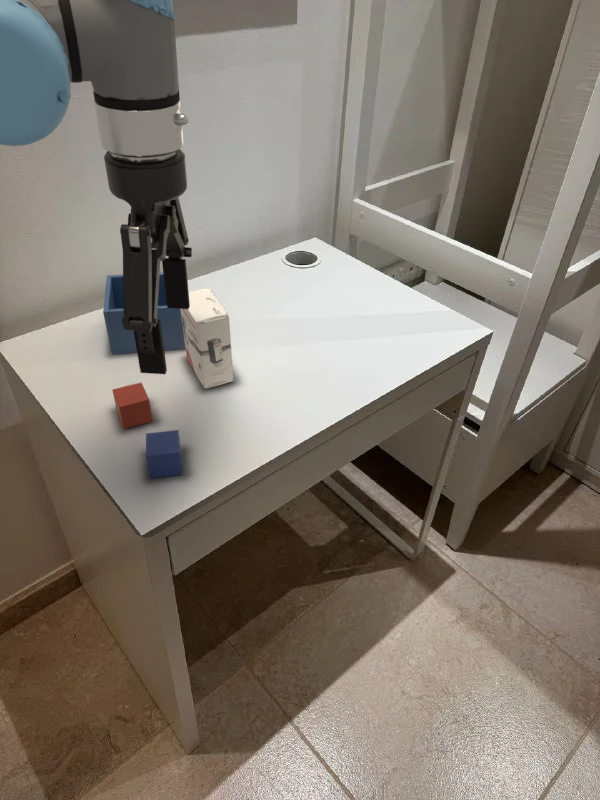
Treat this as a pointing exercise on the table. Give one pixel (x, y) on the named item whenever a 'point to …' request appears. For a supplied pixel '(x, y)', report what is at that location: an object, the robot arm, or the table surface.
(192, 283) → the table surface
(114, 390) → the terracotta block
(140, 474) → the table surface
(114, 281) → the blue bin
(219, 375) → the ink box
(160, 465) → the blue block
